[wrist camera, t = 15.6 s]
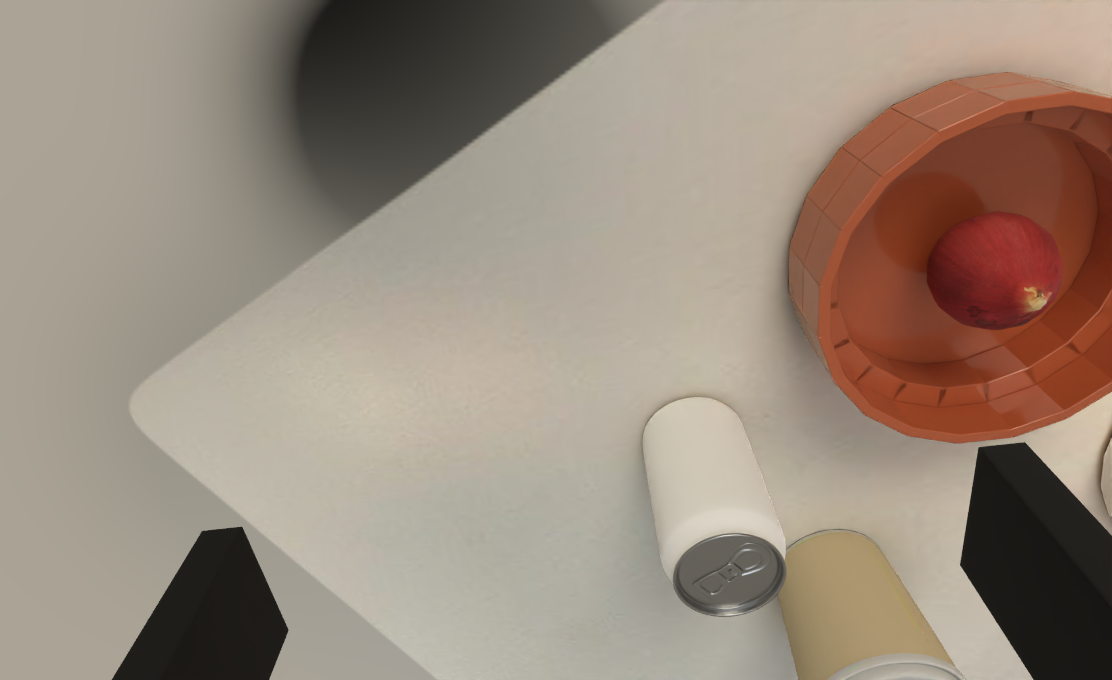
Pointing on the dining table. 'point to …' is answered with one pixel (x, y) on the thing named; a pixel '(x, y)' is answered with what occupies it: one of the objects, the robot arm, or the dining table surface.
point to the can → (712, 509)
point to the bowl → (924, 217)
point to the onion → (995, 271)
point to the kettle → (1107, 478)
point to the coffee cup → (855, 614)
